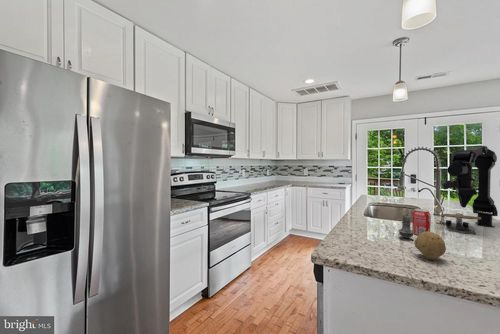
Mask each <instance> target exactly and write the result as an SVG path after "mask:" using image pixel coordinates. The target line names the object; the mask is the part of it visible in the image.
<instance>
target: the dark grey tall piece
mask: <svg viewBox="0 0 500 334" xmlns="http://www.w3.org/2000/svg"><path fill="white" fill-rule="evenodd" d="M401 224H402V225H401V229H398V234H399V235H400V236H399V238H398V239H399V240H401V241H405V242H413V241H414V239H412V237H413V236H414V235H415V233H414V232H413V231H412V229H411V225H412V222H411V216H410V215H408V213H407V212H406V213H405V214H404V215H403V216H402V222H401Z"/></svg>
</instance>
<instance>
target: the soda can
mask: <svg viewBox="0 0 500 334" xmlns="http://www.w3.org/2000/svg"><path fill="white" fill-rule="evenodd" d="M411 219H412V221H411V227H412V229H411V231H413V232H414V235H416V236H419V235H420V234H421V233H423V232H427V231H429V232H431V224H432V223H431V219H432V216H431V213H430V210H429V209H424V208H415V209H413V212H412V218H411Z"/></svg>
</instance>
